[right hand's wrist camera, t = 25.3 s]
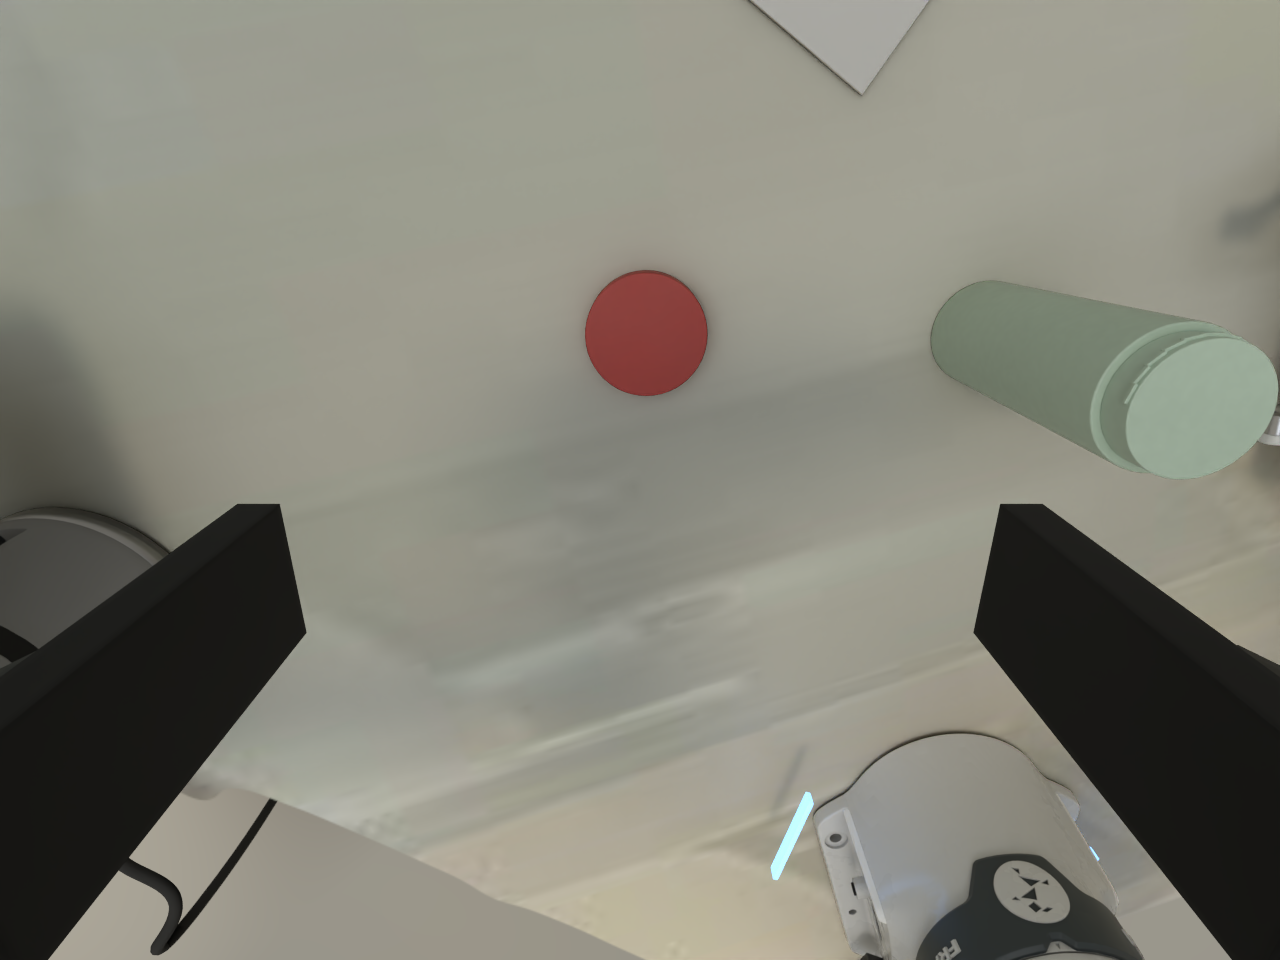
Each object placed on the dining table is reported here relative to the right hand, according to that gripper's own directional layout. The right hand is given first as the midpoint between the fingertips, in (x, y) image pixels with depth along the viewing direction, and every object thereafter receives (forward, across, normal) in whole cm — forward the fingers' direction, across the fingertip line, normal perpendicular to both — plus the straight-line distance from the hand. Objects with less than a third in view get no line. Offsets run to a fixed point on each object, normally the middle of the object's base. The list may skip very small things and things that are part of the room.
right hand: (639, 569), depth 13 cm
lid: (+26, 0, 0) cm, 26 cm away
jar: (+27, +19, 0) cm, 33 cm away
